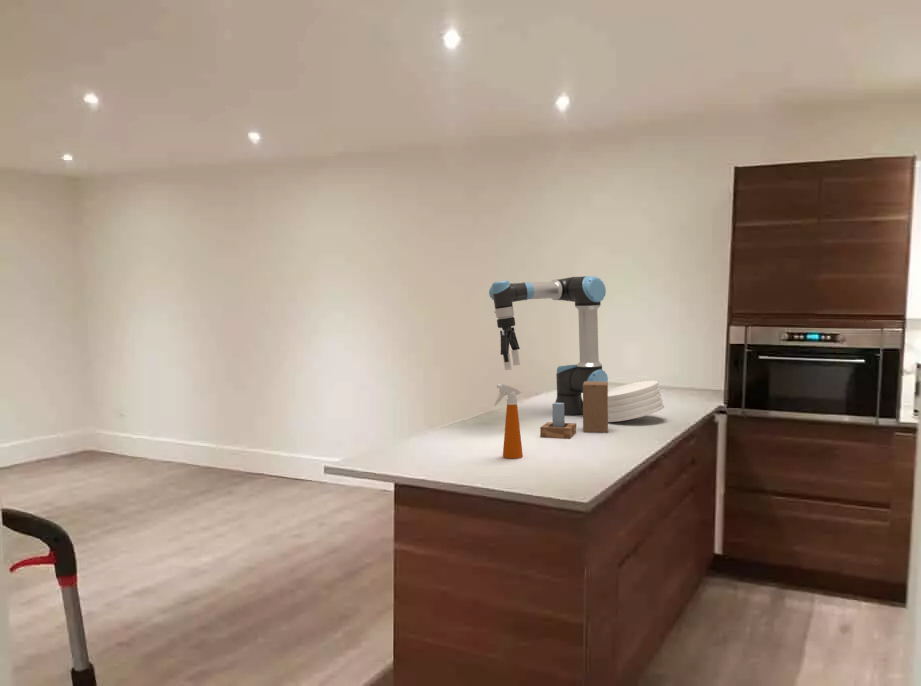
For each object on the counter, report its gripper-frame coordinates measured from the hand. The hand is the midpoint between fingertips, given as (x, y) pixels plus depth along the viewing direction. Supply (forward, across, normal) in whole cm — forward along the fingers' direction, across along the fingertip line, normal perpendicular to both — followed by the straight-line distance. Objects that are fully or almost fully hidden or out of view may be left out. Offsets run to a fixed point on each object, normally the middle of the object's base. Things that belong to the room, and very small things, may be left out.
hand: (512, 367), depth 316 cm
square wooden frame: (+29, +9, +17) cm, 35 cm away
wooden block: (+31, -5, +30) cm, 44 cm away
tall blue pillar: (+29, +9, +18) cm, 35 cm away
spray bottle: (+26, +52, +8) cm, 59 cm away
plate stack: (+31, -33, +43) cm, 62 cm away
